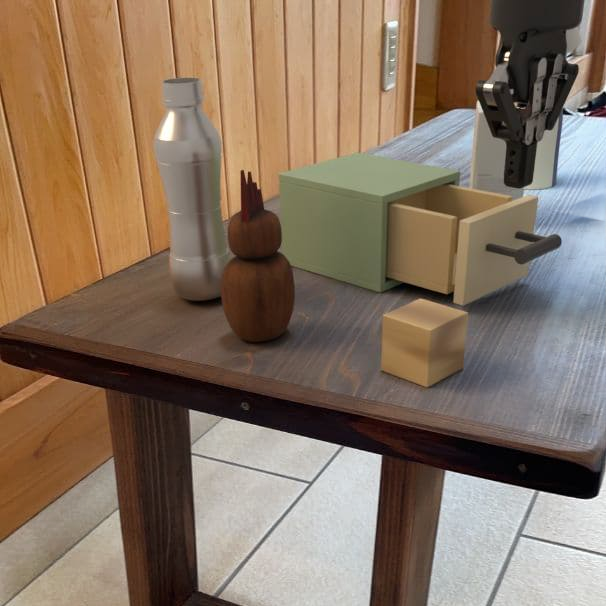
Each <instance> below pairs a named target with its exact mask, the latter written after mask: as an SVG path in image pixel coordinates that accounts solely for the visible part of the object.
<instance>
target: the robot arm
mask: <svg viewBox="0 0 606 606" xmlns="http://www.w3.org/2000/svg"><path fill="white" fill-rule="evenodd" d="M585 1H586V0H490V11H489V12H490V13H489V25H490V27H491V28H492V29H493V30H495V31H497V32H498V33H499V35H500V38H499V44H498V47H497V50H496V53H495V56H494V64H495V69H494V71H493V72H492V73H491V75H490V76H489V79H479V80H478V81H477V82H476V84H475V94H476V96H477V101H478V100H479V102H480V105H481V108H482V110H483V113H484V115H485V118H486V121H487V123H488V126H489V128H490V131H491V134H492V136H493V137H494V138H499V139H502V140H503V141H504V142H506V157H505V167H504V168H505V169H504V184H505V185H506V186H507V187H513V188H518V189H521V188H523V187H526V186H528V185H531V184H532V182H533V174H534V167H535V159H536V150H537V142H539V141H541V140H542V138H543V134H544V131H545V130H550V131H551V130H552V129H553V128H554V126H555V124H556V121H557V119H558V117H559V115H560V113H561V110H562V109H563V108H564V106H565V104H566V101H567V99H568V98H569V96H570V93H571V91H572V89H573V86H574V84H575V81H576V80H577V77H578V75H579V71H580V66H579V65H578V63H571V62H569V61H568V60H567V57H566V58H565V55H566V51H567V40H566V30H570V29H574V28H576V27H577V26H578V27H579V26H580V25H581V23H582V21H583V16H584V8H585ZM547 113H548V114H547Z"/></svg>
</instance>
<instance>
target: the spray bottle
mask: <svg viewBox="0 0 606 606" xmlns="http://www.w3.org/2000/svg"><path fill="white" fill-rule="evenodd" d="M566 40H567V51H566V55H565V58H566V59H567V57H568V54H569V53H571V52H573V51H574V50H577V48H578V47H579V46H580V45H581V44H582V42H583V39H582V36H581V33H580V30H579V26H577V27H576V28H574V29H570V30H566ZM547 114H548V113H547ZM563 122H564V111H563V108H562V110H561V113H560V115H559V117H558V119H557V121H556V124H555V126H554V128H553V129H552V130H551V131H550V130H545V131H544V134H543V138H542V140H541V141H539V142H537V150H536V159H535V167H534V174H533V182H532V184H531V185H528V186H526V187H524V190H544V189H550V188H553V187H555V186H556V185H557V178H558V166H559V156H560V155H559V154H560V147H561V138H562V131H563Z"/></svg>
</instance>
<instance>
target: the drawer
mask: <svg viewBox="0 0 606 606" xmlns="http://www.w3.org/2000/svg"><path fill="white" fill-rule="evenodd" d="M538 203H539V196H536V195H531V194H526V195H523V197H522V198H519V199H516V200H514V201H512V196H508V195H503V194H498V193H493V192H488V191H482V190H477V189H472V188H469V187H467V186H462V185H459V186H456V185H451V184H443V185H439V186H436V187H433V188H430V189H427V190H424V191H421V192H418V193H415V194H412V195H409V196H406V197H403V198H400V199H397V200H394V201H391V202H388V203H387V239H386V273H385V277H388V278H391V279H395V280H398V281H402V282H404V283H406V284H409V285H412V286H416V287H420V288H423V289H427V290H430V291H433V292H438V293H441V294H444V295H448V294H451V293H453V302H452V303H453V304H456V305H460V306H465V305H467V304H470V303H472V302H474V301H476V300H479V299H480V298H482V297H485V296H486V295H488V294H491V293H493V292H495V291H498V290H499V289H502V288H504V287H505V286H508V285H510V284H512V283H514V282H516V281H518V280H520V279H523V278H525V277H528V276H529V272H530V265H531V262H532V261H534V260H536V259H538V258H540V257H542V256H544V255H547V254H549V253H552V252H554V251H556V250H557V249H560V247H561V246H562V242H563V241H562V237H561V236H560V235H559V234H557V233H553V234H551V235H548V236H543V235H539V234H535V228H536V227H535V226H536V218H537V212H538V211H537V210H538V205H539V204H538Z"/></svg>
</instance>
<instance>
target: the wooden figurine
mask: <svg viewBox="0 0 606 606" xmlns="http://www.w3.org/2000/svg"><path fill="white" fill-rule="evenodd" d="M239 173H240V210H239V211H237V212H235V213H234V214H232V216H231V218H230V219H229V221H228V224H227V225H228V226H227V243H228V248H229V250H230V252H231V253H232V254H233V255H234V256H233V257H232V258H231V260H230V261H229V262H228V263H227V265H226V266H225V267H224V271H223V274H222V277H221V296H220V297H221V305H222V310H223V312H224V316H225V319H226V321H227V322H228V323H227V324H228V325H229V327H230V328H231V330H232V332H233V333H234V334H235V336H237V337H239V338H240V339H241V340H242V341H246V342H250V343H260V342H261V343H262V342H266V341H269V340H270V341H271V340H273V339H276V338H278V337H280V336H281V335H282V334H283V333H285V331H286V329H287V328H288V326H289V323H290V321H291V319H292V316H293V315H292V314H293V311H294V307H295V306H294V305H295V298H296V287H295V285H296V284H295V278H294V272H293V268H292V266H291V265H290V262H289V261H288V259H287V258H286V257H285V255H283V254H282V251H279V250H280V248H281V247H282V231H281V220H280V218H279V216H277V214H276V213H275V212H274V211H271V210H268V209H265V205H264V199H263V194H262V189H261V188H258V183H257V182H256V181H253V176H252V171H249V170H248V171H247V179H246V173H245V170H244V169H240V172H239Z"/></svg>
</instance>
